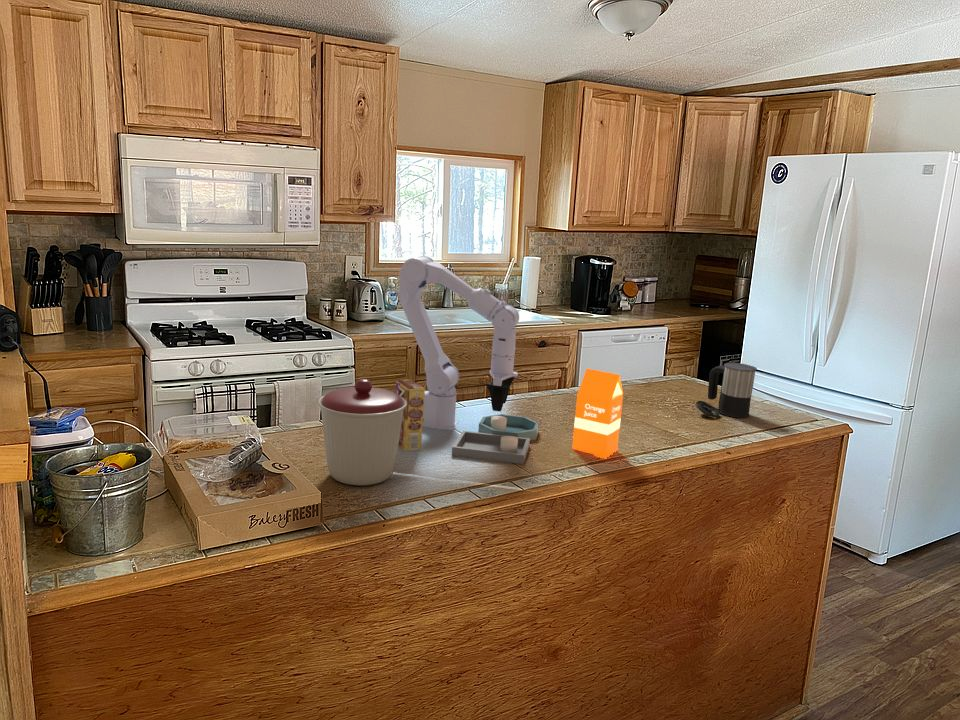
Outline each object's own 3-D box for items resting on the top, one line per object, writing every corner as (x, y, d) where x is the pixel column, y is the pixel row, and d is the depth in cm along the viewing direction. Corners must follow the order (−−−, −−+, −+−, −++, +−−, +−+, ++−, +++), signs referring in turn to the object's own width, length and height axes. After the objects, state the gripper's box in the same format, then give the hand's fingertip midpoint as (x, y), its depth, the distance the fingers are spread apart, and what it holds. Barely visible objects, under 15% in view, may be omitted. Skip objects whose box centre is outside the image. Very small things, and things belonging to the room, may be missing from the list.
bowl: (475, 440, 181) (475, 428, 181) (484, 423, 196) (485, 412, 195) (534, 446, 179) (535, 435, 179) (539, 429, 193) (540, 418, 193)
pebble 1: (489, 432, 186) (490, 419, 185) (491, 428, 190) (492, 415, 189) (504, 434, 186) (505, 421, 185) (506, 429, 189) (507, 416, 189)
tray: (451, 457, 169) (452, 447, 168) (462, 440, 181) (462, 430, 180) (523, 466, 166) (524, 455, 165) (529, 448, 178) (530, 438, 178)
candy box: (422, 451, 172) (425, 388, 168) (405, 452, 170) (408, 389, 166) (409, 439, 179) (412, 378, 176) (392, 440, 177) (394, 379, 174)
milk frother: (753, 414, 221) (760, 366, 218) (740, 425, 208) (747, 375, 205) (706, 404, 229) (712, 358, 225) (690, 415, 216) (697, 366, 212)
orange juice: (605, 459, 174) (613, 377, 169) (571, 450, 178) (578, 371, 174) (617, 450, 180) (626, 371, 176) (584, 442, 185) (592, 365, 180)
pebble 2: (498, 454, 171) (499, 440, 170) (501, 448, 175) (502, 434, 174) (515, 456, 170) (516, 442, 170) (517, 450, 174) (518, 436, 173)
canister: (408, 492, 147) (413, 391, 143) (316, 495, 143) (317, 391, 139) (399, 460, 164) (403, 369, 160) (316, 462, 161) (318, 368, 156)
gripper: (515, 362, 176) (510, 416, 179) (522, 350, 190) (518, 401, 193) (486, 359, 177) (482, 413, 180) (495, 347, 191) (491, 398, 194)
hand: (499, 406), depth 186 cm, fingers open, 7 cm apart
